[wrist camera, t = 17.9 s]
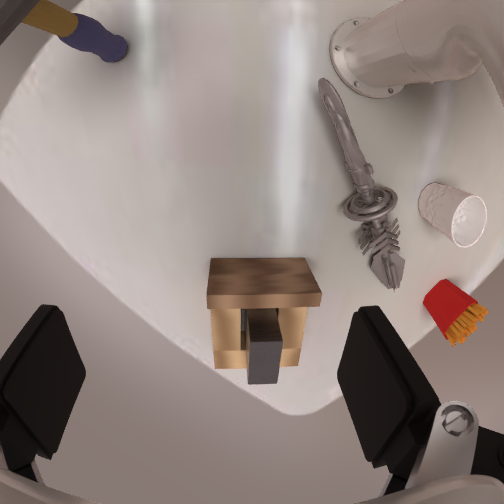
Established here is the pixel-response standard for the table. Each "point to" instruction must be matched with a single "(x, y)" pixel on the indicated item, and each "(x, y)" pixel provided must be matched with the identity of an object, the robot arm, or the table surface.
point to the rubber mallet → (62, 27)
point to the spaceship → (366, 195)
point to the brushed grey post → (262, 345)
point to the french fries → (453, 311)
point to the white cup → (454, 213)
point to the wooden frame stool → (259, 303)
